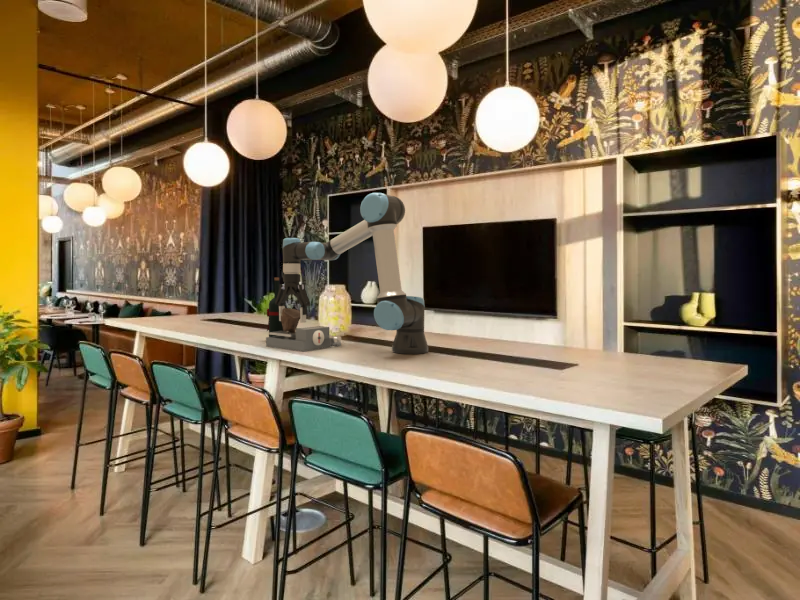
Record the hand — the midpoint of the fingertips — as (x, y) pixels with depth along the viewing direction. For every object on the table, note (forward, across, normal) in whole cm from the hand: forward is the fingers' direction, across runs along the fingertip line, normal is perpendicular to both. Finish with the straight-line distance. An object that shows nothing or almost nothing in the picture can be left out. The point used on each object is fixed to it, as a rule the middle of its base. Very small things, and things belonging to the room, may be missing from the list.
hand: (292, 321), depth 239 cm
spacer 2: (+11, -14, -13) cm, 22 cm away
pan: (+7, 0, 0) cm, 7 cm away
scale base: (+11, -4, 0) cm, 11 cm away
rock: (+5, +1, 0) cm, 5 cm away
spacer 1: (+11, -8, -13) cm, 19 cm away
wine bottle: (+11, +17, -5) cm, 21 cm away
